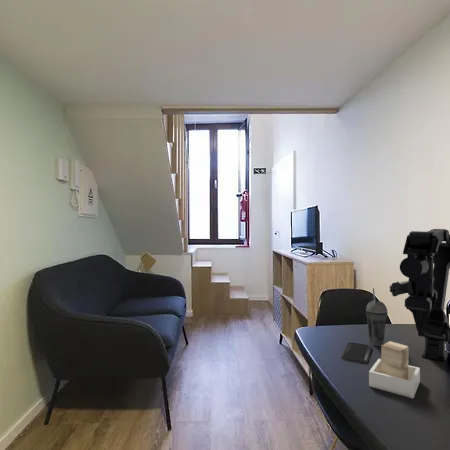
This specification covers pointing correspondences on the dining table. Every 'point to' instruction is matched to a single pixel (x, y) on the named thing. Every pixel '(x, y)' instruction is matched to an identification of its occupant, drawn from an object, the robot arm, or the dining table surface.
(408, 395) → the box
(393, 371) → the wood block
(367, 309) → the beverage cup
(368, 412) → the dining table surface
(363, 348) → the phone
